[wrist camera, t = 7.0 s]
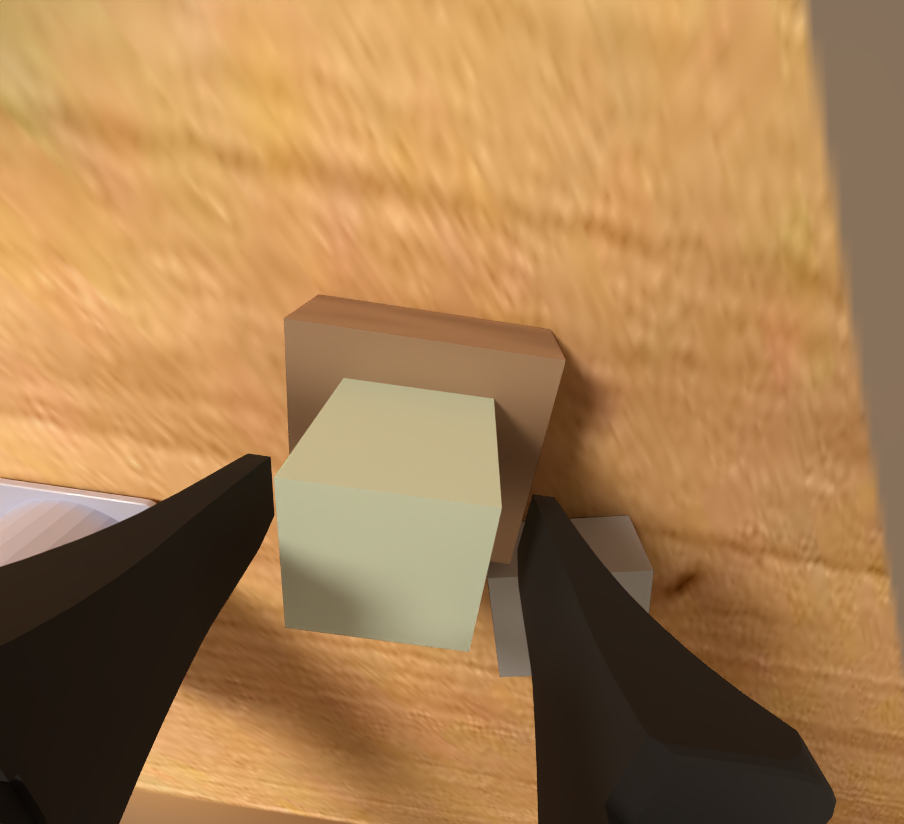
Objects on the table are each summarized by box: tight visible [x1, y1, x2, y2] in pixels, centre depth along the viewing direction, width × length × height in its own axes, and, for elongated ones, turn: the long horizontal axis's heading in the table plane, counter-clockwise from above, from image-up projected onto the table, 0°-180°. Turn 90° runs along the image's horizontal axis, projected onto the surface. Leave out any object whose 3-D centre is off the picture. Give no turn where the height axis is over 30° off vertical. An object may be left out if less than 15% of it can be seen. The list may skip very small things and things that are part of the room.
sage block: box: [274, 378, 502, 652], centre depth 12 cm, size 4×4×5 cm
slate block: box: [487, 515, 654, 677], centre depth 19 cm, size 6×6×3 cm
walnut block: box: [284, 295, 566, 564], centre depth 16 cm, size 8×8×3 cm
